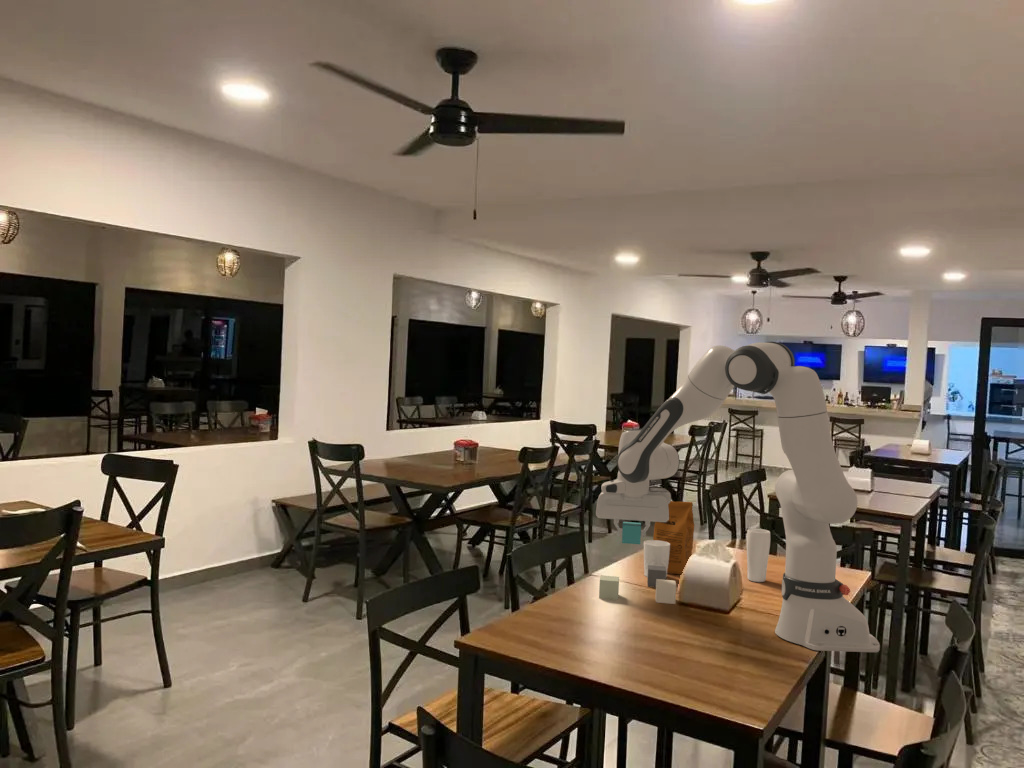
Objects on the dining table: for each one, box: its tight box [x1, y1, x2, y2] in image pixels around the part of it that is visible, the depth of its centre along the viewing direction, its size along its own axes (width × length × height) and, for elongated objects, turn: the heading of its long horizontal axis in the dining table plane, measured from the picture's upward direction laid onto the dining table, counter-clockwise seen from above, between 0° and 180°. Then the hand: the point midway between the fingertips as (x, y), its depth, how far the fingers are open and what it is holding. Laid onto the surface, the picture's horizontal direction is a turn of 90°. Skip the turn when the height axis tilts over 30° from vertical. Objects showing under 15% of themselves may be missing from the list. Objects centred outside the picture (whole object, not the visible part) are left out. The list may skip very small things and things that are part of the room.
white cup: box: [643, 539, 670, 578], centre depth 229 cm, size 8×8×10 cm
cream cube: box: [655, 579, 677, 605], centre depth 204 cm, size 5×5×5 cm
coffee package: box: [652, 500, 695, 576], centre depth 237 cm, size 10×12×22 cm
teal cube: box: [621, 521, 642, 545], centre depth 213 cm, size 5×5×5 cm
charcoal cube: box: [646, 565, 667, 588], centre depth 219 cm, size 5×5×5 cm
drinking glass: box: [746, 528, 771, 583], centre depth 229 cm, size 7×7×15 cm
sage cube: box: [598, 574, 620, 601], centre depth 205 cm, size 5×5×5 cm
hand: (631, 536), depth 213 cm, fingers closed on teal cube, 5 cm apart
